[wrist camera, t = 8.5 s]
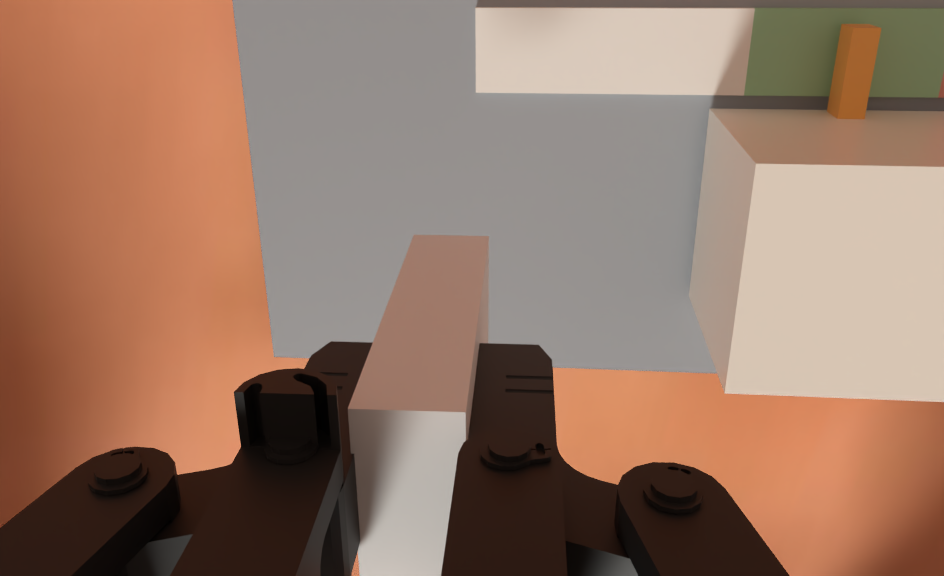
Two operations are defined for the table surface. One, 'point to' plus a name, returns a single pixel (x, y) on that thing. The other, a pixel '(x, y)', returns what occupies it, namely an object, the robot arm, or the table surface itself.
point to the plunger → (824, 244)
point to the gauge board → (527, 150)
